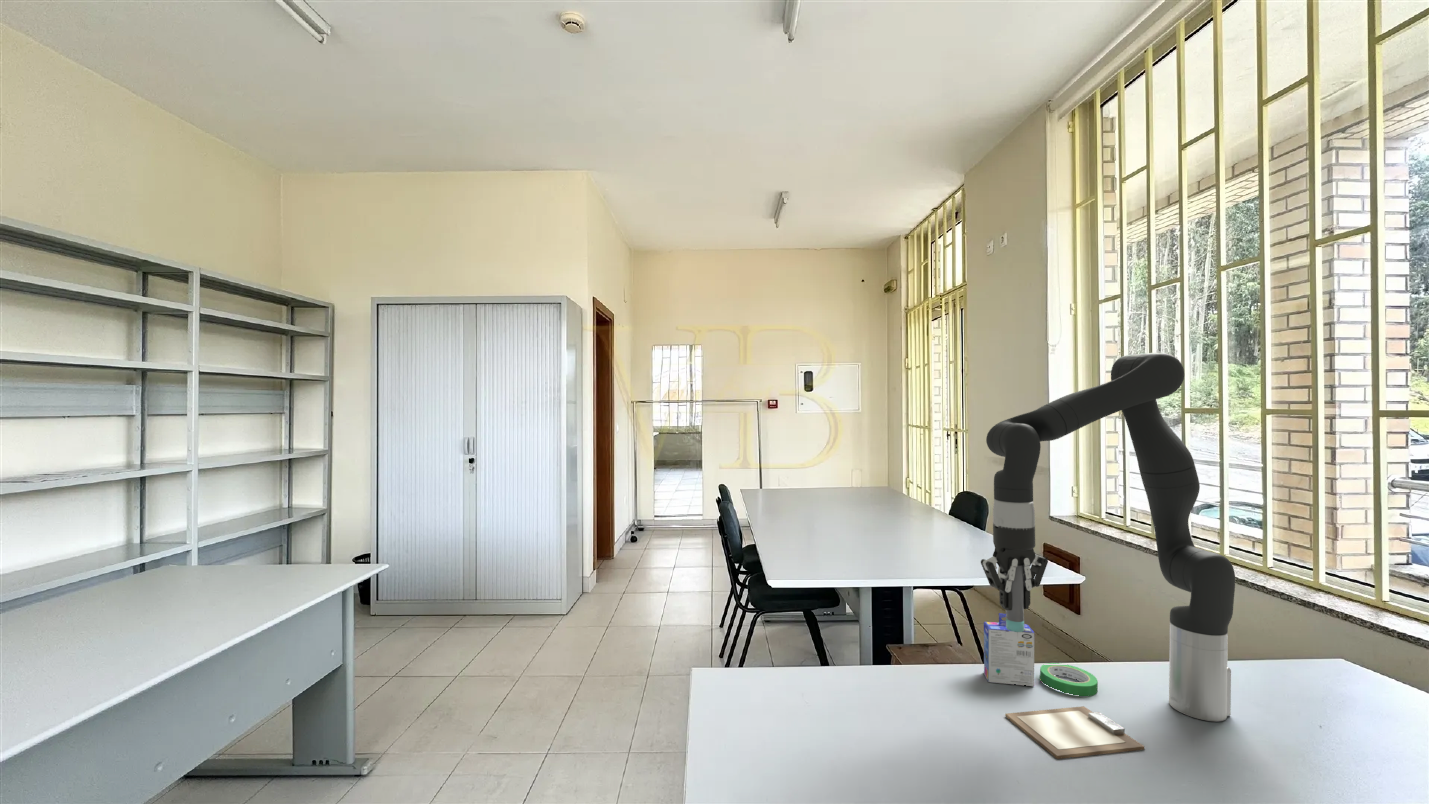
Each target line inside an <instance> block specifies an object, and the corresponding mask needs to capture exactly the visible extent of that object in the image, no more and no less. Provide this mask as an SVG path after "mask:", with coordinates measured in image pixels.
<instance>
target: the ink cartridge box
mask: <svg viewBox="0 0 1429 804" xmlns="http://www.w3.org/2000/svg"><path fill="white" fill-rule="evenodd" d="M1003 618H1006V613H1000V612H999V613H998V622H995V621H994V622H992V621H983V674H984V677H985V678H986V680H987V682H988V683H996V684H1005V685H1014V684H1016V686H1024V685H1026V686H1025V687H1035V631H1034V630H1033V629H1032V628H1031V627H1030V625H1028V624H1026V623H1024V631H1023V632H1014V631H1010V630H1008V629H1007V628H1006V620H1003Z"/></svg>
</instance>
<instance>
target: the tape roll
mask: <svg viewBox="0 0 1429 804" xmlns="http://www.w3.org/2000/svg"><path fill="white" fill-rule="evenodd" d="M1047 664H1061V663H1060V662H1059V663H1056V662H1050V663H1049V662H1048V663H1047ZM1039 671H1040V672H1039V680H1040V679H1041V680H1040V682H1041V681H1042V682H1043V683H1044V684H1046V685H1048V686H1049V687H1052V688H1054V689H1057V690H1060V691H1062V692H1064V693H1069V694H1073V695H1079V696H1078V697H1080V696H1088V697H1092V696H1096V693H1097V694H1098V693H1099V692H1098V687H1099V686H1098V684H1099V682H1098V681H1099V680H1098V678H1097V677H1096V676H1095V675H1094V674H1092V673H1091V672H1089V671H1088V670H1085V669H1082V668H1080V667H1078V666H1073V665H1070V664H1067V665H1044V664H1042V665H1041V666H1040V669H1039ZM1054 675H1059V676H1054ZM1064 676H1068V677H1067V678H1070V679H1074V680H1076V679H1077V681H1076V682H1075V681H1070V680H1066V679H1063V678H1060V677H1064ZM1078 681H1079V682H1078ZM1042 682H1041V683H1042ZM1043 683H1042V684H1043ZM1044 684H1043V685H1044ZM1046 685H1045V686H1046ZM1049 687H1048V688H1049ZM1064 693H1063V694H1064Z"/></svg>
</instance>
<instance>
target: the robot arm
mask: <svg viewBox="0 0 1429 804" xmlns="http://www.w3.org/2000/svg"><path fill="white" fill-rule="evenodd" d="M1184 379H1185V369H1184V366H1183V364H1182V362H1181V361H1180V360H1179V358H1177V357H1176V356H1174V355H1172V354H1169V353H1164V352H1147V353H1144V352H1143V353H1134V354H1126V355H1123V356H1120V357H1119V358H1118V359H1117V360H1115V361H1114V363H1113V364H1112V367H1111V370H1110V381H1107V382H1104V383H1101V384H1100V385H1095V386H1093V387H1089V388H1086V389H1082V390H1079V391H1075V392H1072V393H1069V394H1067V395H1064V396H1062V397H1058V398H1057V399H1055V400H1053V401H1051V402H1048V403H1046V404H1044V405H1042V406H1041V407H1039V408H1037V409H1035V410H1033V411H1028V412H1026V413H1023V414H1018V415H1016V416H1012V417H1010V418H1007V419H1004V420H1001V421H1000V422H998V423H996V424H994V425H993V426H992V427H991V428H990V429H989V430H988V432H987V434H986V441H985V442H986V445H987V448H988V449H989V450H990V451H991V452H992V453H993V454H995V455H996V456H998V457H999V456H1000V457H1002V458H1004V462H1003V467H1002V468H1003V469H1000V470H997V471H996V472H995V474H994V477H993V505H992V506H993V507H992V542H993V545H994V551H993V553H992V556H991V557H989V558H987V559H985V558H983V559H981V560H980V565H981V567H982V569H983V573H984V574H985V577H986V579H987V581H988V583H989V584H988V585H990V587H994V589H997V591H999V604H1000V607H1001V608H1002V609H1004V610H1005V611H1006V610H1007V611H1009V610H1012V592H1010V591H1011V585H1012V581H1014V577H1015V571H1016V567H1017V566H1021V565H1022V566H1023V583H1024V610H1028V609H1029V607H1030V606H1031V591H1032V589H1033V588H1035V587H1037V588H1038V587H1039V586H1040V585H1041V583H1042V580H1043V577H1044V575H1045V572H1046V568H1047V566H1048V562H1049V560H1048V558H1046V557H1043V556H1041V555H1038V554H1036V552H1035V550H1034V549H1035V547H1036V511H1035V504H1034V477H1035V475H1036V472H1037V468H1038V463H1039V460H1040V455H1041V447H1042V446H1041V442H1051V441H1056V440H1059V439H1061V438H1063V437H1065V436H1067V435H1069V434H1071V433H1073V432H1075V431H1077V430H1079V429H1082V428H1083V427H1085V426H1088V425H1090V424H1092V423H1094V422H1096V421H1098V420H1100V419H1103V418H1106V417H1108V416H1111V415H1113V414H1116V413H1118V412H1122V415H1123V417H1124V420H1125V422H1126V427H1127V429H1128V432H1129V435H1130V439H1131V443H1132V446H1133V449H1134V453H1135V456H1136V457H1135V458H1136V459H1137V465H1138V469H1139V473H1140V477H1141V481H1142V484H1143V488H1144V491H1145V494H1146V498H1147V503H1148V506H1149V510H1150V511H1149V512H1150V514H1151V519H1152V525H1153V527H1154V528H1153V529H1154V535H1155V536H1154V537H1155V542H1156V551H1157V557H1158V564H1159V567H1160V571H1161V574H1162V576H1163V577H1164V580H1165V581H1166V582H1167V583H1169V584H1170V585H1171V586H1173V587H1176V588H1178V589H1180V590H1183V591H1185V592H1189V593H1190V599H1189V605H1177V606H1173V607H1172V608H1171V609H1170V610H1169V656H1168V658H1169V660H1168V661H1169V663H1168V666H1169V670H1168V671H1169V673H1168V676H1169V678H1168V705H1169V706H1171V707H1172V708H1173V709H1174V710H1176V711H1177V712H1179V713H1182V714H1184V715H1186V716H1188V717H1191V718H1194V719H1196V720H1197V719H1199V720H1202V721H1207V722H1224V721H1226V720H1227V718H1228V717H1229V716H1231V715H1232V714H1231V713H1232V711H1231V710H1232V709H1231V707H1232V701H1231V700H1232V699H1231V698H1232V670H1231V668H1230V667H1228V657H1229V656H1228V653H1229V651H1228V645H1229V644H1228V642H1229V639H1228V638H1229V637H1228V636H1229V635H1228V634H1229V631H1228V630H1229V625H1230V622H1231V620H1232V618H1233V615H1234V601H1235V591H1236V589H1235V588H1236V573H1235V568H1234V566H1233V564H1232V562H1231V561H1230V560H1229V559H1228V558H1227V557H1225V556H1223V555H1222V554H1219V553H1216V552H1212V551H1210V550H1205V549H1201V548H1198V547H1196V546H1195V544H1194V542H1193V539H1192V534H1191V532H1190V526H1189V524H1190V523H1189V520H1190V519H1189V518H1190V514H1191V513H1192V510H1193V508H1194V506H1195V504H1196V502H1197V500H1198V496H1199V494H1200V487H1201V486H1200V480H1199V476H1198V472H1197V468H1196V464H1195V460H1194V457H1193V455H1192V453H1191V451H1190V450H1189V448H1188V447H1187V446H1186V444H1184V442H1183V441H1182V440H1181V438H1180V437H1179V436H1178V435H1177V434H1176V433H1175V431H1173V429H1172V428H1171V427H1170V426H1169V424H1168V423H1167V422H1166V421H1165V418H1164V417H1163V415H1162V413H1161V411H1160V408H1159V405H1158V401H1157V400H1159V399H1161V398H1162V399H1163V398H1165V397H1168V396H1171V395H1172V394H1174V393H1176V392H1177V391H1178V390H1179V388H1181V386H1182V384H1183V383H1184ZM997 565H998V567H997ZM997 569H998V570H997ZM1005 573H1008V575H1006V574H1005Z"/></svg>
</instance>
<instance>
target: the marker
mask: <svg viewBox="0 0 1429 804" xmlns="http://www.w3.org/2000/svg"><path fill="white" fill-rule="evenodd" d="M1005 574H1006V575H1008V573H1005ZM1010 592H1012V610H1009V611H1007V610H1005V614H1006V617H1005V621H1006V628H1007V629H1008V630H1010V631H1014V632H1023V631H1024V624H1025V609H1024V583H1023V566H1022V565H1021V566H1017V567H1016V571H1015V577H1014V581H1012V585H1011V591H1010Z"/></svg>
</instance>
